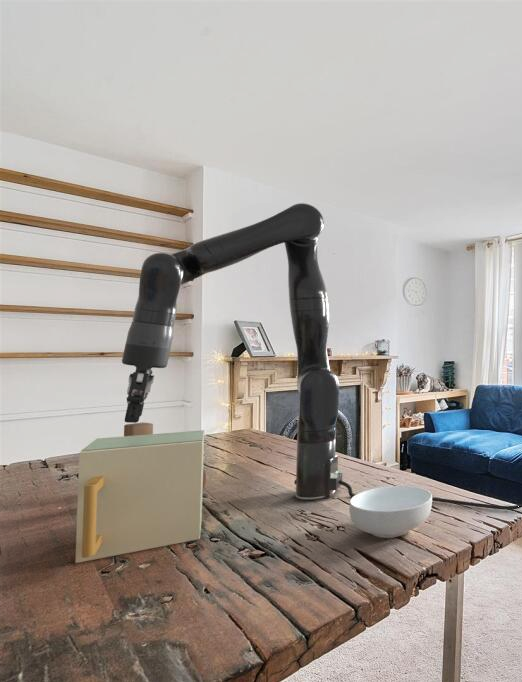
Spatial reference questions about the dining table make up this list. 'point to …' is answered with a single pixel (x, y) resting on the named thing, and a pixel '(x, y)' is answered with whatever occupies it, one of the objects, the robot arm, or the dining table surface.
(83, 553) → the cupboard door
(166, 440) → the cupboard
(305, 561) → the dining table surface
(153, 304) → the robot arm
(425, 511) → the cereal bowl
